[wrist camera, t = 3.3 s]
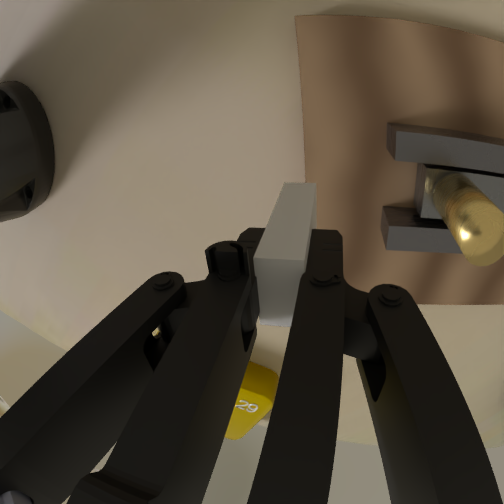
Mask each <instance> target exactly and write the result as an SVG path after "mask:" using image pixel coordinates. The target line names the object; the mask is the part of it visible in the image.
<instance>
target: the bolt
mask: <svg viewBox="0 0 504 504" xmlns="http://www.w3.org/2000/svg"><path fill="white" fill-rule="evenodd" d="M413 204H414V206H415V208H416V210H417V212H418V214H419V216H420V217H421V218H434V219H443V221H444V222H445V224H446V225H447V227H448V229H449V230H450V232H451V234H452V235H453V237H454V239H455V240H456V242H457V244H458V246H459V247H460V249H461V251H462V253H463V254H464V256H465V258H466V259H467V261H469V262H470V263H471V264H473V265H476V266H487V265H490V264H493V263H494V262H496V261H498V260H499V259H500V258H501V257H502V256H503V255H504V174H502V173H496V172H490V171H483V170H476V169H469V168H461V167H453V166H445V165H436V164H426V163H417V174H416V184H415V193H414V201H413Z"/></svg>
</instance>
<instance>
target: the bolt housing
mask: <svg viewBox="0 0 504 504" xmlns="http://www.w3.org/2000/svg"><path fill="white" fill-rule="evenodd" d="M386 149H387V150H388V152H389V153H390V154H391V156H392V157H393V159H394V160H395V161H403V162H415V163H426V164H436V165H445V166H453V167H461V168H469V169H476V170H483V171H490V172H496V173H502V174H504V139H501V138H496V137H491V136H486V135H481V134H475V133H469V132H463V131H457V130H450V129H443V128H436V127H427V126H419V125H409V124H398V123H387V140H386ZM380 229H381V233H382V236H383V240H384V244H385V248H386V250H394V251H415V252H436V253H456V254H463V253H462V251H461V249H460V247H459V246H458V244H457V242H456V240H455V239H454V237H453V235H452V234H451V232H450V230H449V229H448V227H447V225H446V224H445V222H444V221H443V219H434V218H421V217H420V216H419V214H418V212H417V210H416V208H410V207H394V206H382V216H381V226H380ZM503 256H504V255H503Z"/></svg>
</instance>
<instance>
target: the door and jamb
mask: <svg viewBox="0 0 504 504" xmlns="http://www.w3.org/2000/svg"><path fill="white" fill-rule="evenodd" d="M295 23H296V33H297V44H298V55H299V67H300V80H301V95H302V111H303V129H304V151H305V179H306V183H316V198H317V226H316V229H329V230H338V231H339V233H340V234H341V235H342V236H343V275H344V279H345V280H346V282H347V283H348V284H349V285H350V286H352V287H354V288H355V289H358V290H361V291H364V292H368V293H369V292H370V290H371V289H372V288H373V287H375V286H377V285H381V284H394V285H397V286H400V287H402V288H404V289H406V290H407V291H408V292H409V293H410V294H411V296H412V297H413V299H414V301H415V303H416V304H439V305H491V304H504V256H502V257H501V258H500V259H499V260H498V261H496V262H494V263H493V264H490V265H487V266H476V265H473V264H471V263H470V262H469V261H467V259H466V258H465V256H464V254H456V253H436V252H415V251H394V250H386V248H385V244H384V240H383V236H382V233H381V229H380V226H381V216H382V206H394V207H410V208H415V206H414V204H413V201H414V193H415V184H416V174H417V163H415V162H403V161H395V160H394V159H393V157H392V156H391V154H390V153H389V152H388V150H387V149H386V140H387V123H398V124H409V125H419V126H427V127H436V128H443V129H450V130H457V131H463V132H469V133H475V134H481V135H486V136H491V137H496V138H501V139H504V43H502V42H499V41H496V40H493V39H490V38H486V37H483V36H479V35H476V34H472V33H468V32H464V31H460V30H456V29H451V28H446V27H442V26H436V25H431V24H425V23H419V22H413V21H406V20H398V19H389V18H379V17H366V16H347V15H303V16H295Z"/></svg>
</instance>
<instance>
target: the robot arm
mask: <svg viewBox="0 0 504 504" xmlns="http://www.w3.org/2000/svg"><path fill="white" fill-rule="evenodd" d="M53 174H54V149H53V142H52V136H51V131H50V127H49V124H48V121H47V118H46V115H45V113H44V110H43V108H42V106H41V104H40V102H39V101H38V99H37V98H36V96H35V95H34V93H33V92H32V91H31V90H30V89H29V88H28V87H26V86H25V85H24V84H22V83H20V82H17V81H7V82H3V83H0V222H3V221H7V220H11V219H15V218H19V217H22V216H24V215H26V214H28V213H29V212H31V211H32V210H34V209H35V208H37V207H38V206H39V205H41V204H42V203H43V202H44V200H45V199H46V197H47V196H48V193H49V191H50V188H51V185H52V180H53ZM316 226H317V198H316V183H284V185H283V188H282V190H281V193H280V195H279V197H278V200H277V202H276V205H275V207H274V209H273V212H272V214H271V217H270V219H269V221H268V224H267V226H266V228H248V229H247V230H245V231H244V232H242V233H241V234H240V236H239V238H238V240H237V241H222V242H218V243H215V244H213V245H211V246H209V247H208V248H207V249H206V250H205V255H206V260H207V265H208V270H209V274H208V276H207V278H206V279H205V280H202V281H196V282H189V283H185V282H184V279H183V277H182V275H181V274H179V273H177V272H162V273H159V274H156V275H154V276H153V277H151V278H150V279H148V280H147V281H146V282H145V283H144V284H142V285H141V286H140V287H139V288H138V289H137V290H136V291H134V292H133V293H132V294H131V295H130V296H129V297H128V298H126V299H125V300H124V301H123V302H122V303H121V304H120V305H119V306H117V307H116V308H115V309H114V310H113V311H112V312H111V313H110V314H108V315H107V316H106V317H105V318H104V319H103V320H102V321H101V322H100V323H98V324H97V325H96V326H95V327H94V328H93V329H92V330H91V331H90V332H89V333H88V334H86V335H85V336H84V337H83V338H82V339H81V340H80V341H79V342H78V343H77V344H76V345H75V346H73V347H72V348H71V349H70V350H69V351H68V352H67V353H66V354H65V355H64V356H63V357H62V358H61V359H60V360H59V361H57V362H56V363H55V364H54V365H53V366H52V367H51V368H50V369H49V370H48V371H47V372H46V373H45V374H44V375H43V376H42V377H41V378H40V379H39V380H38V381H37V382H36V383H35V384H34V385H33V386H32V387H31V388H30V389H29V390H28V391H27V392H26V393H25V394H24V395H23V396H22V397H21V398H20V399H19V400H18V401H17V402H16V403H15V404H14V405H13V406H12V407H11V408H10V409H9V410H8V411H7V412H6V413H5V414H4V415H3V416H2V417H1V418H0V504H62V503H63V502H64V501H65V500H66V499H67V498H68V497H69V496H70V495H71V496H70V498H69V500H68V502H67V504H202V501H203V498H204V495H205V492H206V489H207V486H208V484H209V481H210V478H211V475H212V472H213V469H214V466H215V463H216V460H217V458H218V455H219V452H220V449H221V446H222V443H223V439H224V437H225V434H226V431H227V428H228V425H229V422H230V418H231V415H232V412H233V409H234V406H235V403H236V400H237V397H238V394H239V391H240V388H241V384H242V381H243V378H244V375H245V372H246V369H247V365H248V362H249V359H250V356H251V353H252V349H253V346H254V343H255V340H256V336H257V328H256V322H257V319H258V316H259V318H260V324H261V325H272V326H284V327H291V328H290V333H289V338H288V342H287V347H286V352H285V356H284V361H283V365H282V370H281V374H280V378H279V383H278V387H277V391H276V396H275V400H274V404H273V408H272V412H271V416H270V420H269V424H268V428H267V432H266V436H265V440H264V444H263V448H262V452H261V455H260V459H259V463H258V467H257V470H256V474H255V477H254V481H253V484H252V488H251V491H250V495H249V498H248V502H247V504H327V502H328V497H329V490H330V484H331V477H332V470H333V463H334V455H335V447H336V438H337V429H338V419H339V408H340V396H341V383H342V367H343V354H346V355H349V356H352V357H355V358H356V362H357V366H358V369H359V373H360V376H361V380H362V383H363V387H364V391H365V394H366V398H367V402H368V405H369V409H370V413H371V417H372V421H373V425H374V429H375V433H376V437H377V441H378V445H379V449H380V453H381V458H382V462H383V466H384V471H385V476H386V480H387V485H388V490H389V495H390V500H391V504H503V502H502V499H501V496H500V492H499V489H498V485H497V482H496V479H495V476H494V473H493V470H492V467H491V464H490V461H489V458H488V455H487V453H486V450H485V447H484V445H483V442H482V439H481V437H480V434H479V432H478V429H477V427H476V424H475V422H474V419H473V417H472V415H471V412H470V410H469V407H468V405H467V403H466V401H465V398H464V396H463V394H462V392H461V390H460V387H459V385H458V383H457V381H456V379H455V377H454V375H453V372H452V370H451V368H450V366H449V364H448V362H447V360H446V358H445V356H444V354H443V352H442V350H441V348H440V346H439V345H438V343H437V341H436V339H435V337H434V335H433V333H432V331H431V329H430V328H429V326H428V324H427V322H426V320H425V318H424V317H423V315H422V313H421V311H420V310H419V308H418V306H417V304H416V303H415V301H414V299H413V297H412V296H411V294H410V293H409V292H408V291H407V290H406V289H404V288H402V287H400V286H397V285H394V284H381V285H377V286H375V287H373V288H372V289H371V290H370V292H369V293H368V292H364V291H361V290H358V289H355V288H354V287H352V286H350V285H349V284H348V283H347V282H346V280H345V279H344V275H343V236H342V235H341V234H340V233H339V231H338V230H329V229H316ZM157 327H158V329H159V333H158V334H157V335H155V336H153V335H152V332H153V331H154V330H155V329H156V328H157ZM116 442H117V443H116ZM115 443H116V445H115V447H114V449H113V451H112V453H111V455H110V456H109V458H108V460H107V462H106V464H105V466H104V467H103V468H102V469H101V470H100V471H98V472H94V473H90V472H91V471H92V470H93V469H94V467H95V466H96V465H97V464H98V463H99V462H100V460H101V459H102V458H103V457H104V456H105V455H106V453H107V452H108V451H109V450H110V449H111V448H112V446H113V445H114V444H115Z"/></svg>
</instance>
